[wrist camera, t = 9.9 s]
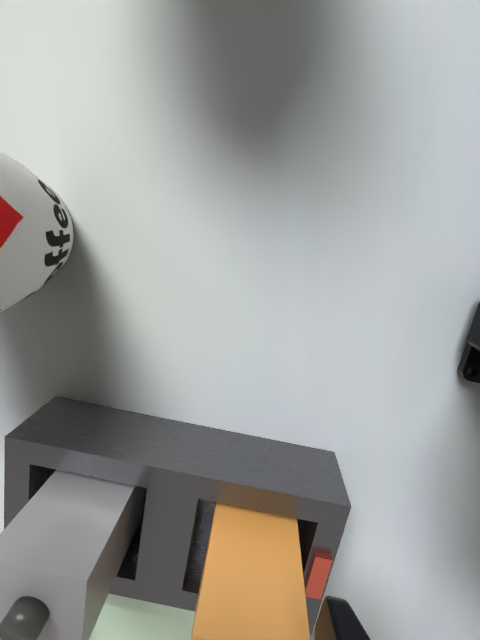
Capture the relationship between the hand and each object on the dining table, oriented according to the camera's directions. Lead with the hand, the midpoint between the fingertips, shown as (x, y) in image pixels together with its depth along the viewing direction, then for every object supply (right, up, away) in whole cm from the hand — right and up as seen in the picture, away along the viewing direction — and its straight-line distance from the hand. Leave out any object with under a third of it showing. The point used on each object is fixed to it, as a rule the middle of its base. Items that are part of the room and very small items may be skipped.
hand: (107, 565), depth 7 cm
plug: (+3, -6, +13) cm, 14 cm away
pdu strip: (-1, -5, +14) cm, 14 cm away
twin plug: (-5, -4, +13) cm, 14 cm away
